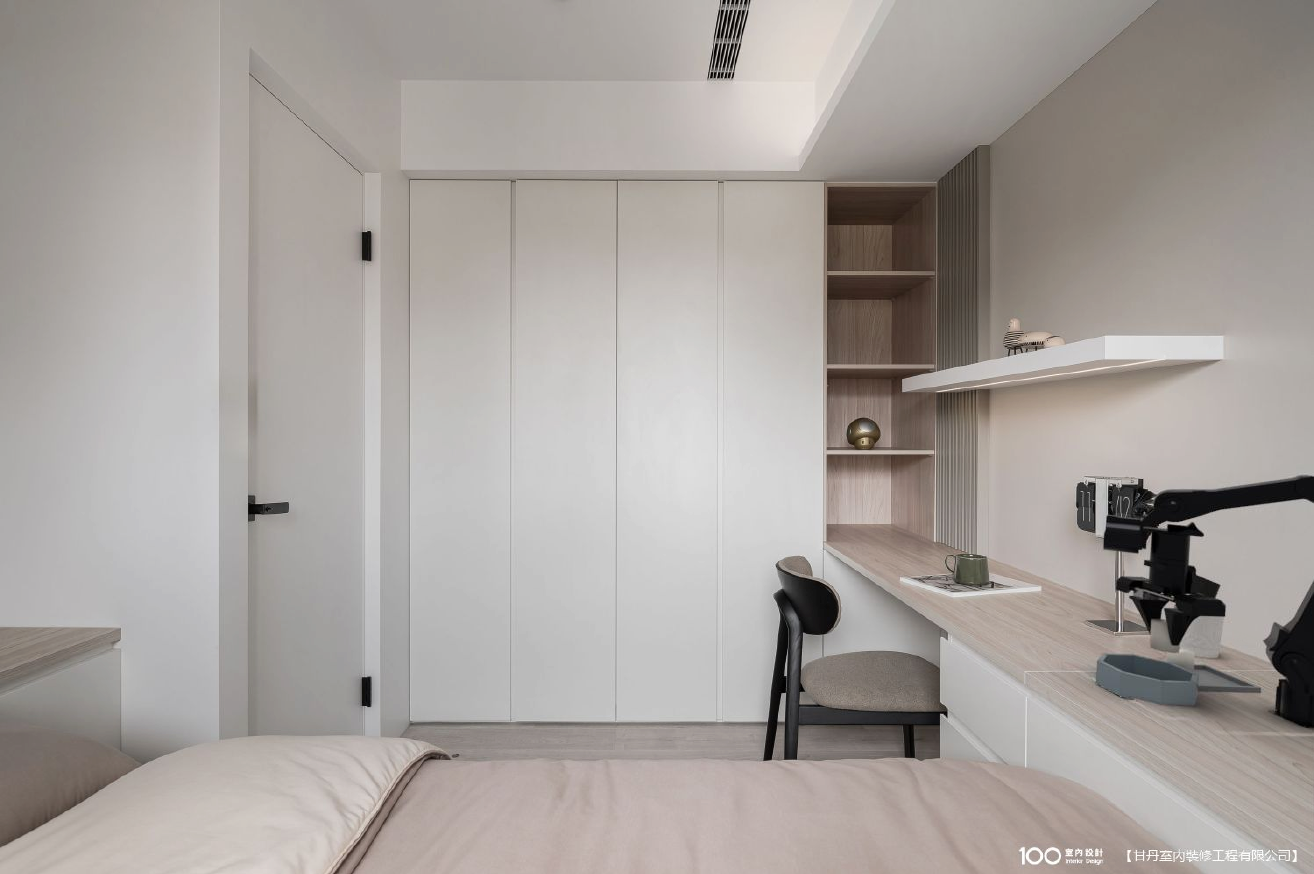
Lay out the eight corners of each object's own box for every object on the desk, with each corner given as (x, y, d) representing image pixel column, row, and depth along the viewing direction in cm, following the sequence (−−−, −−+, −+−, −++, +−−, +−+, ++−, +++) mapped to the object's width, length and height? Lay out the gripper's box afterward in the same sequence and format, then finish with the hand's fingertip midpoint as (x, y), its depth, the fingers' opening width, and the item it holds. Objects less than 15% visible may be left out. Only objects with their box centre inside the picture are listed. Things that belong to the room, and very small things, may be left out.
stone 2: (1199, 678, 130) (1201, 653, 130) (1177, 677, 130) (1179, 652, 130) (1180, 670, 135) (1182, 645, 135) (1159, 669, 135) (1161, 645, 134)
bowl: (1218, 709, 117) (1220, 683, 117) (1137, 706, 116) (1139, 681, 116) (1152, 677, 131) (1153, 654, 131) (1080, 675, 131) (1081, 652, 131)
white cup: (1229, 663, 143) (1232, 617, 142) (1188, 659, 144) (1190, 613, 144) (1207, 651, 150) (1210, 607, 150) (1167, 647, 152) (1170, 604, 152)
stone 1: (1162, 652, 121) (1164, 625, 121) (1143, 644, 126) (1145, 618, 126) (1185, 653, 122) (1187, 625, 122) (1166, 645, 126) (1167, 618, 126)
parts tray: (1260, 695, 124) (1261, 687, 124) (1194, 693, 124) (1194, 685, 124) (1204, 671, 136) (1205, 664, 136) (1143, 669, 136) (1144, 662, 136)
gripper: (1258, 570, 115) (1253, 660, 115) (1169, 549, 133) (1165, 627, 133) (1196, 567, 114) (1191, 658, 114) (1116, 547, 133) (1111, 625, 133)
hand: (1164, 641), depth 124 cm, fingers closed on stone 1, 4 cm apart
